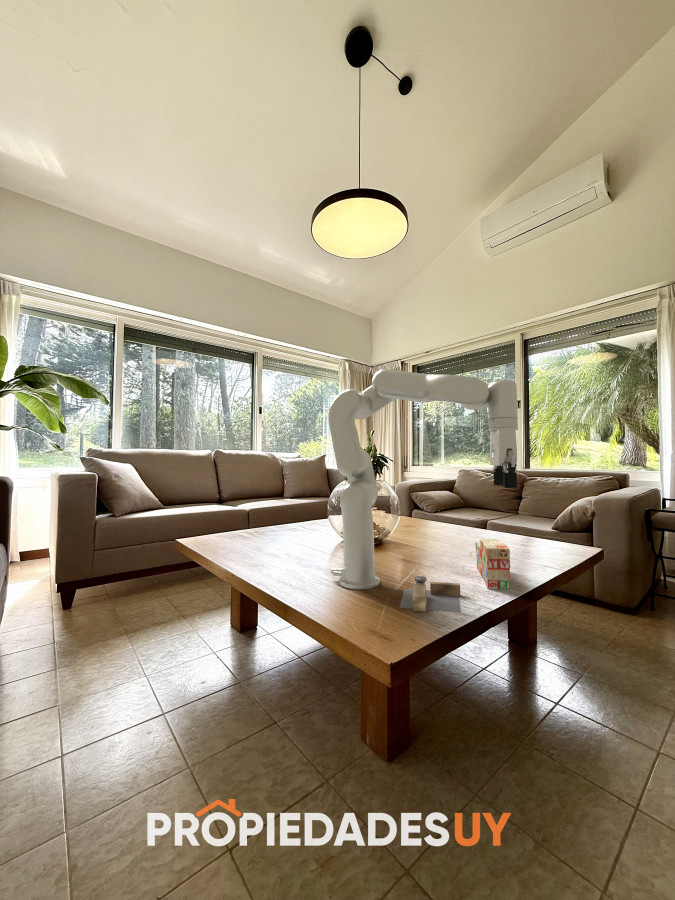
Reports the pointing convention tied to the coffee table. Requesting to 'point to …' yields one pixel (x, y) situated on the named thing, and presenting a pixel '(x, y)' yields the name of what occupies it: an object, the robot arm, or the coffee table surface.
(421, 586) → the leg
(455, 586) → the block
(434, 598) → the mat
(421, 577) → the post
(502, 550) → the stack of blocks
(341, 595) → the coffee table surface
